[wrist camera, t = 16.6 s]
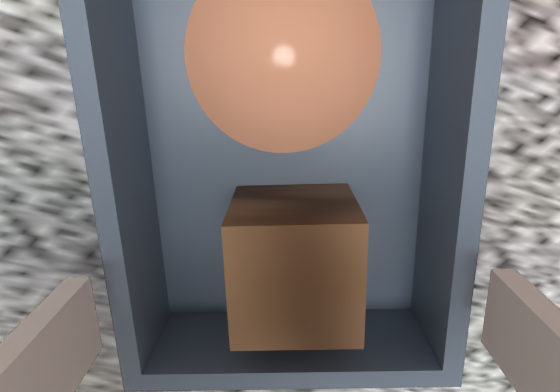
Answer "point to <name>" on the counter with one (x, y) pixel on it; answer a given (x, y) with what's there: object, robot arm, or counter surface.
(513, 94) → the counter surface
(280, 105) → the peach rounded cylinder
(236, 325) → the walnut cube
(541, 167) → the counter surface
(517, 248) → the counter surface
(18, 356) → the robot arm
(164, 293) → the tote
